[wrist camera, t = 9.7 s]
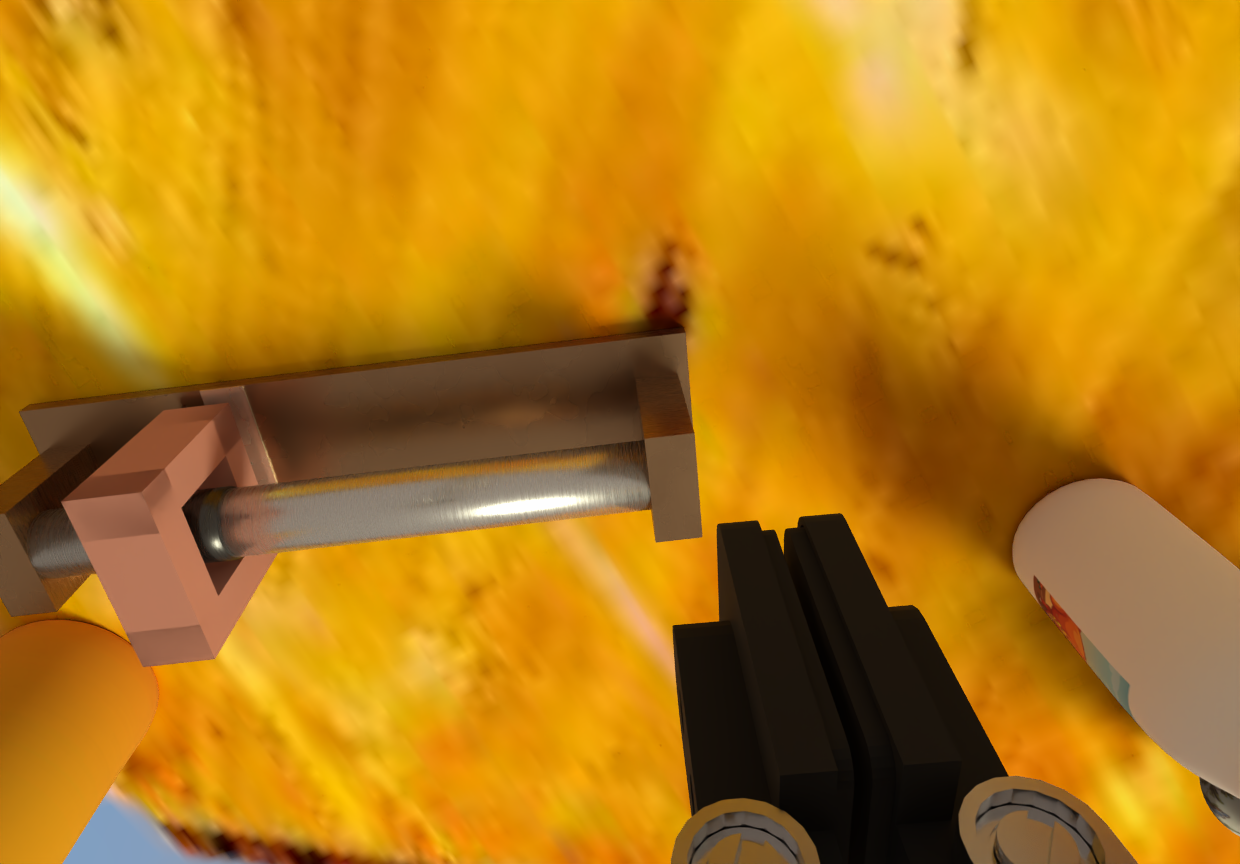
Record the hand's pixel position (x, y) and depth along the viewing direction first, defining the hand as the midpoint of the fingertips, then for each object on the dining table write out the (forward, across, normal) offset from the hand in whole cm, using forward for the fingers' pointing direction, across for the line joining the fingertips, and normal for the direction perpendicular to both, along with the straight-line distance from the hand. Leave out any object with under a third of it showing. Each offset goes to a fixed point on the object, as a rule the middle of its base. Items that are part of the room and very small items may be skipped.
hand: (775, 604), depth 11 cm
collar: (+25, +21, +11) cm, 34 cm away
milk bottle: (+26, -22, +20) cm, 40 cm away
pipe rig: (+26, +14, +11) cm, 32 cm away
